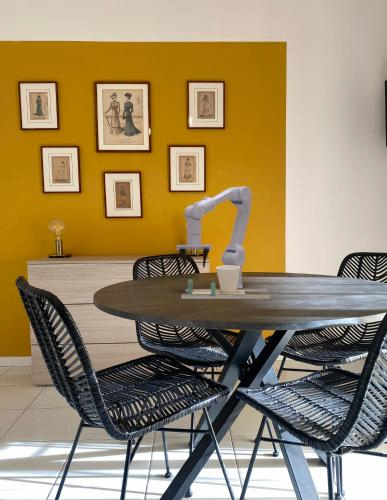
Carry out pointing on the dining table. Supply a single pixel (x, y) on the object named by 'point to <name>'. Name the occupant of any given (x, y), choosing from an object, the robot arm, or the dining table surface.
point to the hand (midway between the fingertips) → (194, 267)
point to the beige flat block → (191, 291)
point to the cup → (228, 278)
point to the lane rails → (227, 296)
